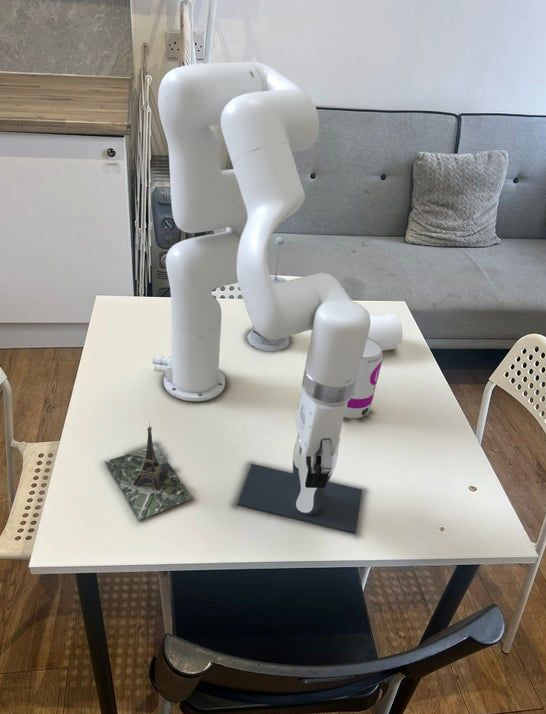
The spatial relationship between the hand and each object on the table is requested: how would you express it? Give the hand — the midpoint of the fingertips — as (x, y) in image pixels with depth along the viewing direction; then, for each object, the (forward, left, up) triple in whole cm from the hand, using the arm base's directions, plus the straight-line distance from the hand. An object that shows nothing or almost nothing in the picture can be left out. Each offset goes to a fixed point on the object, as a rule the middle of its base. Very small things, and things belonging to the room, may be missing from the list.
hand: (310, 463), depth 103 cm
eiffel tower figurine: (-27, -4, -9) cm, 28 cm away
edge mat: (-1, +1, -9) cm, 9 cm away
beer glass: (0, 0, -9) cm, 9 cm away
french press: (-18, +47, -9) cm, 51 cm away
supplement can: (+4, +28, -9) cm, 30 cm away
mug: (+5, +53, -9) cm, 54 cm away
